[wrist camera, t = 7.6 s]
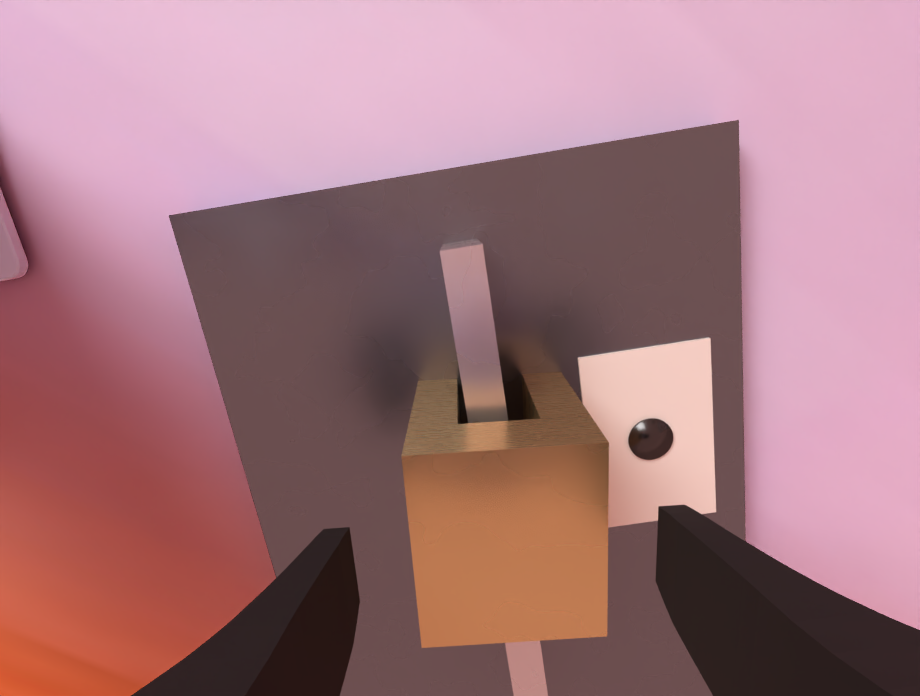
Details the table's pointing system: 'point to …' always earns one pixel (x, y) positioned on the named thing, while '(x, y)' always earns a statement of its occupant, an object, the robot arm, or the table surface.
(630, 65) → the table surface
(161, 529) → the table surface
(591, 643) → the plate
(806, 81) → the table surface
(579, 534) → the brass clip
